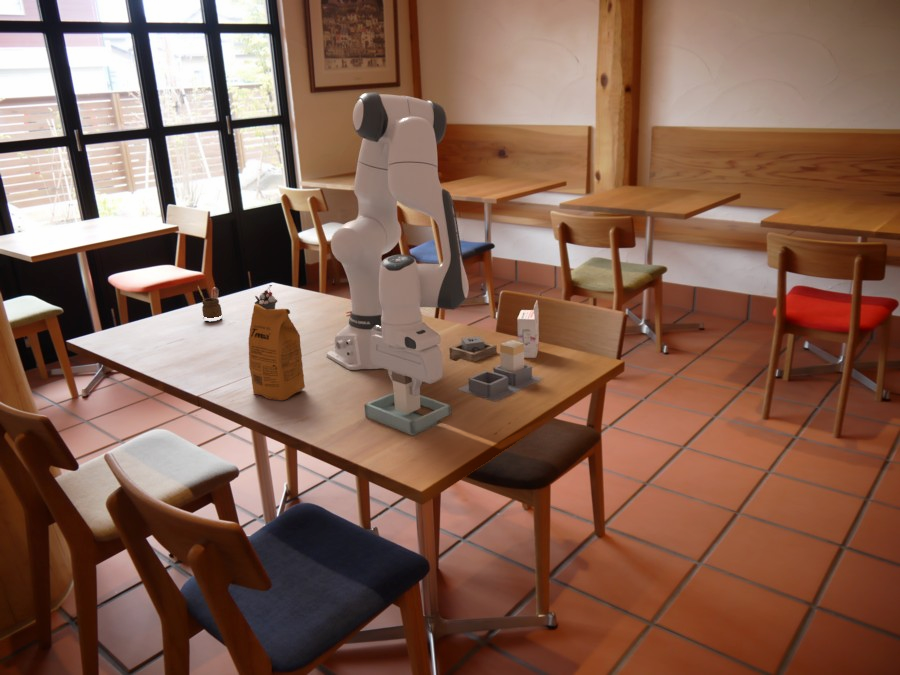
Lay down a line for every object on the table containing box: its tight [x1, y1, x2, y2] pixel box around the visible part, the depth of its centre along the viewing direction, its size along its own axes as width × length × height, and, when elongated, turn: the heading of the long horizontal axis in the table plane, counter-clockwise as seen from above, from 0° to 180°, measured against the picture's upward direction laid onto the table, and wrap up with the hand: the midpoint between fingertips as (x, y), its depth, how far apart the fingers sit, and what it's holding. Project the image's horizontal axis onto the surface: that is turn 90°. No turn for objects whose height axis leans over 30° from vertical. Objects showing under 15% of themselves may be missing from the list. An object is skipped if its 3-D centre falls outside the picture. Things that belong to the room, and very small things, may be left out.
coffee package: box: [248, 303, 306, 401], centre depth 179 cm, size 10×12×22 cm
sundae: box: [254, 284, 278, 310], centre depth 227 cm, size 7×7×15 cm
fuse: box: [499, 339, 525, 372], centre depth 181 cm, size 4×4×9 cm
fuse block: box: [457, 363, 544, 403], centre depth 179 cm, size 12×18×4 cm, turn 136°
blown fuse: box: [391, 371, 421, 414], centre depth 163 cm, size 4×4×9 cm
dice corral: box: [449, 342, 498, 363], centre depth 200 cm, size 9×9×3 cm
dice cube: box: [460, 336, 485, 353], centre depth 200 cm, size 5×5×5 cm
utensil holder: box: [197, 285, 223, 318], centre depth 244 cm, size 6×6×12 cm
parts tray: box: [364, 391, 452, 437], centre depth 165 cm, size 16×12×3 cm
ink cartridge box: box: [516, 299, 540, 359], centre depth 198 cm, size 9×5×15 cm, turn 168°
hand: (406, 391), depth 163 cm, fingers closed on blown fuse, 4 cm apart
